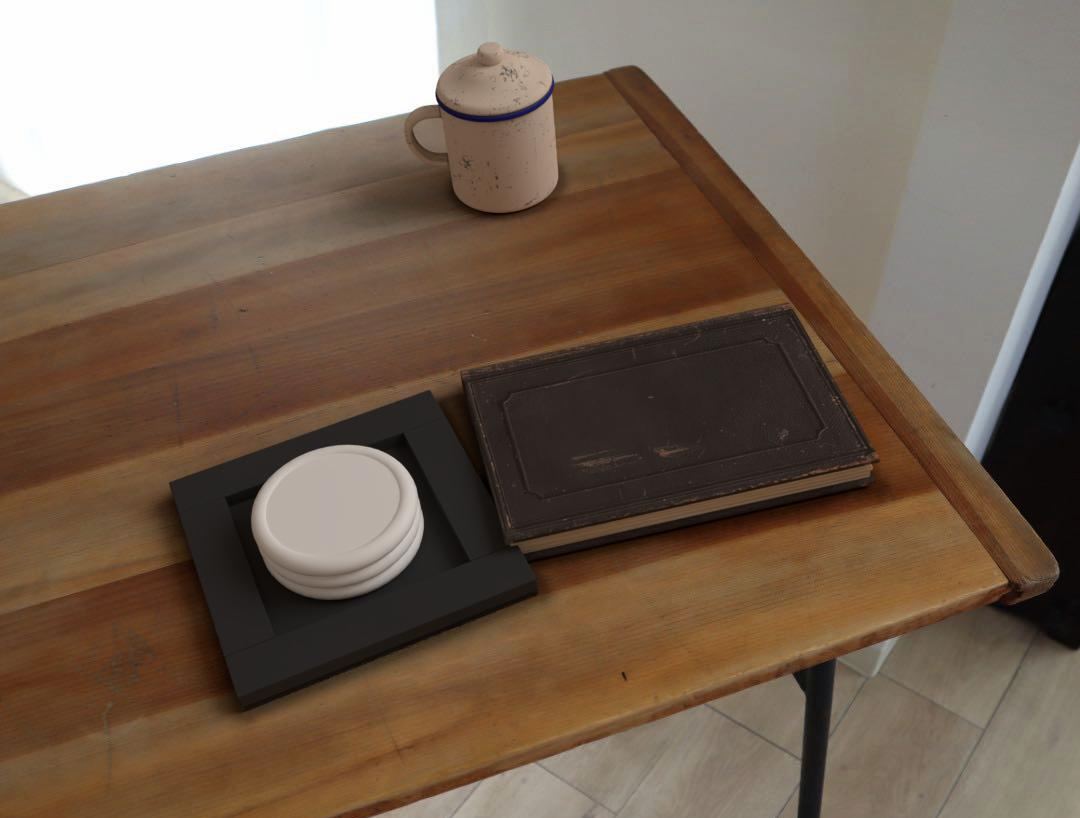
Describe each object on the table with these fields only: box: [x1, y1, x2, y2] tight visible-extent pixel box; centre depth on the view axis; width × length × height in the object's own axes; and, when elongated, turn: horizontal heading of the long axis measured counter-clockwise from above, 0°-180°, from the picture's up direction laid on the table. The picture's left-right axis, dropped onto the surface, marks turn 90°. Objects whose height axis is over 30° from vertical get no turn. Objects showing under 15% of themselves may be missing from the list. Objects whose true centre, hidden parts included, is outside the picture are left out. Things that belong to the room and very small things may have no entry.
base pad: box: [168, 389, 540, 712], centre depth 72 cm, size 18×18×2 cm
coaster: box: [251, 445, 424, 600], centre depth 71 cm, size 10×10×4 cm
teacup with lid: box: [403, 41, 559, 214], centre depth 92 cm, size 12×9×12 cm
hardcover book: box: [459, 302, 881, 562], centre depth 76 cm, size 16×23×2 cm
